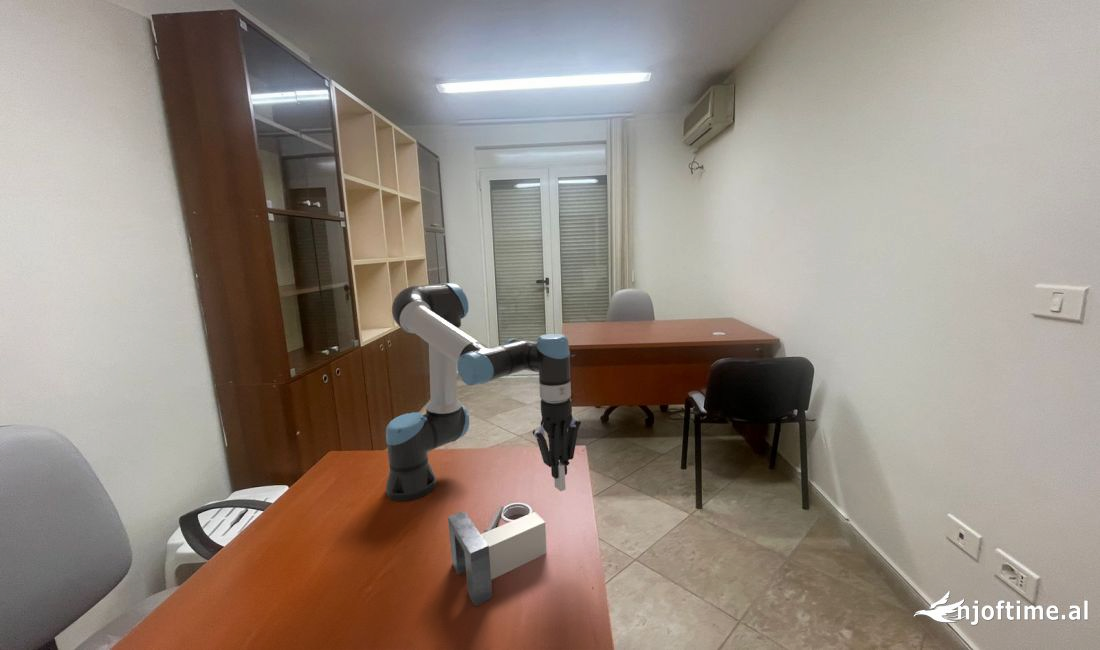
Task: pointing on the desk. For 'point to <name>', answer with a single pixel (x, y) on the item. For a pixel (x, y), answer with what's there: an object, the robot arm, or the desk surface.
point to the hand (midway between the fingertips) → (560, 487)
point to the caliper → (495, 519)
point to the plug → (515, 543)
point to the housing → (470, 556)
